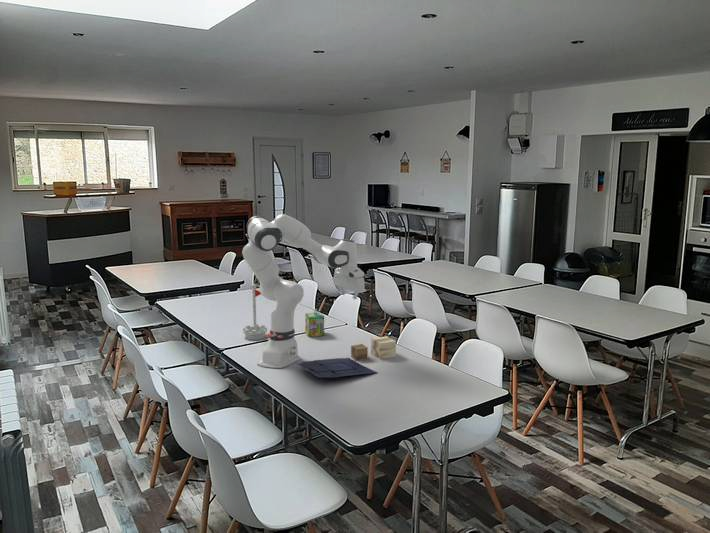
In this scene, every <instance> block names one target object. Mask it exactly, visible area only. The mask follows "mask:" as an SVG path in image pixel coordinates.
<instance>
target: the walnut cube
mask: <svg viewBox="0 0 710 533" xmlns="http://www.w3.org/2000/svg"><path fill="white" fill-rule="evenodd" d="M368 352H369V351H368V346H366V345H364V344H363V343H360V344H354V345H352V344H351V345H350V358H351V359H352V360H354V361H355V362H357V361H358V362H359V361H362V360H363V361H365V360H368V357H369V356H368Z"/></svg>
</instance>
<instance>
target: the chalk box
mask: <svg viewBox="0 0 710 533" xmlns="http://www.w3.org/2000/svg"><path fill="white" fill-rule="evenodd" d="M304 321H305V324H304V325H305V327H304V329H305V331H304V332H305V334H306V336H307V337H308V338H315V337H317V338H318V337H325V316H324V314H322V312H318V308H314V312H307V313H305V319H304Z"/></svg>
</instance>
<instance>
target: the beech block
mask: <svg viewBox="0 0 710 533" xmlns="http://www.w3.org/2000/svg"><path fill="white" fill-rule="evenodd" d="M370 344H371V345H370V354H371V355H372V356H374V357H376V358H377V359H379V360H384V359H389V358H394V357H395V358H396V356H397V345H396V344H397V341H396V340H394V339H392V338H391V337H389V336H387V335H386V336H380V337H373V338H370Z"/></svg>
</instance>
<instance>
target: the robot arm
mask: <svg viewBox="0 0 710 533" xmlns="http://www.w3.org/2000/svg"><path fill="white" fill-rule="evenodd" d="M311 237H312V233H311V230H310V228H308V227H307V226H306V224H304V223H302V222H301V221H299V220H298V219H296V218H294V217H292V216H290V215H287V214H285V213H280V214H279V215H277V216H276V217H275V218H274V219H273V220H272V221H269V220H268V219H267V218H266V217H264V216H261V215H254V216H251V217H250V218H249V219H248V221H247V223H246V239H248V241H249V242H248V243H247V244H246V245H244V246H243V248H242V251H241V254H242V257H243V259H244V261H245V262H246V264H247V266H248V268H249V269H250V270H251V271H252V273H253V275H254V276H255V277H256V278H257V280H258V281H259V292H260V293H261V296H262V297H264V298H266V300H267V299H268V300H270V301H272V302H273V301H274V302H276V307H275V310H273V311H272V312H271V313H270V330H269V332H268V333H267V334H266V337H267V338H269V339H268V340H267V343H266V344H265V347H264V348H263V350H262V353H261V355H262V357H261V358H260V359H259V360H258V362H257V365H258V366H259V367H264V368H271V369H272V368H273V369H282V368H286V367H287V366H289V365H291V364H293V363H296V362H298V361H299V360H301V359H302V357H301V356H300V355H299V346H298V342H297V340H296V338H295V335H296V331H295V328H294V327H295V326H294V323H295V322H294V316H295V315H294V314H295V309H296V307H297V306H298V304H300V302H302V300H303V298H304V297H305V296H304V295H305V292H304V288H303V286H302V285H301V284H299V283H297V282H295V281H293V280H287V279H283V278H282V277H281V276H280V275H279V273H280V267H279V265H278V264H277V263H276V261H275V260H274V258H273V257H272V255H271V254H270V252H271V251H273V250H274V249H275V248H276V247H277V246H279V243H281V242H282V240H284V241H285V242H287V243H288V244H289V245H292V246H294V247H296V248H299V249H304V250H305V251H306V252H308V253H310V254H311V256H312V257H313V259H314V261H315V262H316V263H317V264H321V265H325V266H326V267H329V268H331V269H334V273H333V285H334V286H336V287H337V286H338V290H339V292H340V296H345V295H346V291H345V290H344V289H346V290H349V291H352V292H353V293H354V294H353V295H352V299H353V300H357V299H358V296H359V294H360V293H363V292H364V291H365V287H366V286H365V284H366V282H365V278H364V276H365V272H364V271H363V270H362V269H361V268H359V266H358V263H357V258H358V250H357V243H356V241H355V240H352V239H349V238H342V239H340V241H339V242H338V243H337V244H336V245H334V246H330V245H328V244H326V243H319V242H317V241H316V240H314V239H313V238H311Z"/></svg>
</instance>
